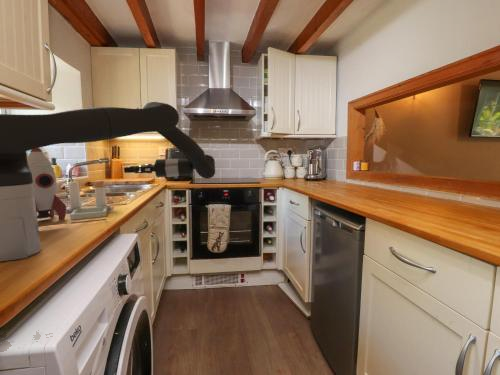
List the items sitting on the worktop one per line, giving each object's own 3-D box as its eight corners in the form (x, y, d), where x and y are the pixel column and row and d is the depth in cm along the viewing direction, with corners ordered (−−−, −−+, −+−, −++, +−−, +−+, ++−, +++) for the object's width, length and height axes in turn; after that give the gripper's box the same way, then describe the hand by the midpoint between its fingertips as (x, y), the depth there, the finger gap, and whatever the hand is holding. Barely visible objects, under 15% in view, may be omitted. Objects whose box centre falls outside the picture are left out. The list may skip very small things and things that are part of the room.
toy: (29, 230, 88) (17, 136, 84) (20, 225, 94) (8, 138, 90) (68, 223, 97) (59, 137, 93) (57, 219, 103) (48, 139, 99)
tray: (106, 220, 100) (105, 211, 100) (71, 223, 96) (70, 214, 95) (108, 214, 110) (107, 206, 110) (76, 217, 106) (75, 208, 105)
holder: (113, 213, 111) (112, 206, 111) (32, 221, 100) (31, 213, 100) (114, 210, 118) (113, 203, 117) (38, 217, 107) (37, 209, 106)
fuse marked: (106, 209, 112) (103, 180, 110) (96, 210, 110) (93, 181, 109) (106, 208, 115) (104, 180, 113) (96, 209, 113) (94, 180, 112)
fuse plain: (80, 212, 108) (77, 182, 106) (69, 213, 106) (66, 182, 105) (82, 210, 111) (79, 181, 110) (71, 211, 110) (68, 181, 108)
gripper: (169, 158, 121) (131, 159, 119) (164, 159, 107) (121, 160, 105) (170, 175, 122) (132, 176, 120) (165, 178, 108) (123, 180, 106)
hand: (127, 169), depth 112 cm, fingers open, 8 cm apart
